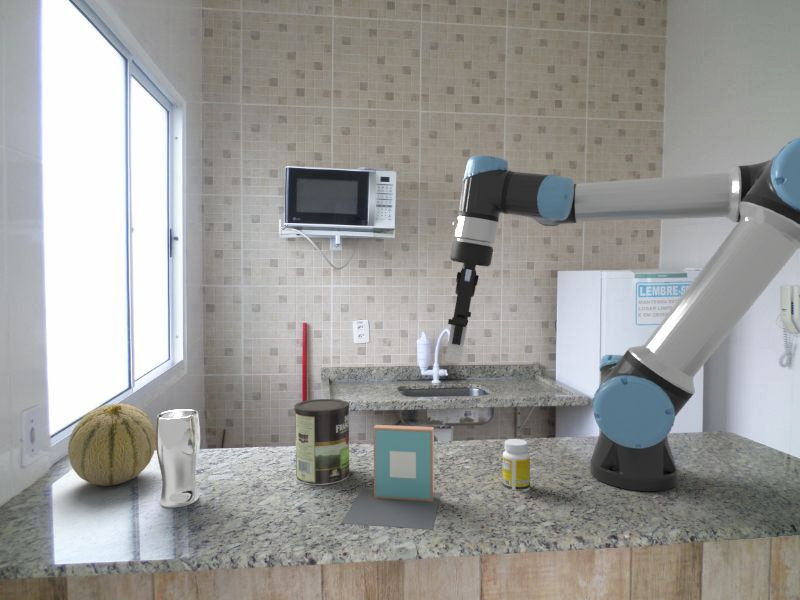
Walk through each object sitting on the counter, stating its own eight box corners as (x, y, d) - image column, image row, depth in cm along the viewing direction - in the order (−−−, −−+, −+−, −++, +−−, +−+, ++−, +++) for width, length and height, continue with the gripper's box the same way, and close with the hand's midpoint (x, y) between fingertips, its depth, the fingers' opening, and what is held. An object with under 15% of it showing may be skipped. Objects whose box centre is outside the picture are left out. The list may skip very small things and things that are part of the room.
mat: (441, 496, 94) (441, 492, 94) (432, 533, 80) (432, 529, 80) (362, 491, 96) (362, 488, 96) (340, 527, 82) (340, 523, 82)
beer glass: (209, 495, 94) (208, 410, 94) (181, 511, 88) (179, 420, 87) (177, 490, 97) (175, 407, 96) (147, 506, 90) (145, 417, 90)
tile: (434, 497, 92) (433, 426, 91) (432, 502, 90) (432, 430, 89) (376, 493, 93) (375, 424, 93) (373, 498, 91) (373, 428, 91)
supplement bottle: (532, 485, 98) (532, 439, 98) (526, 495, 94) (526, 447, 93) (506, 481, 100) (506, 436, 100) (499, 490, 96) (499, 444, 95)
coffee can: (356, 470, 107) (355, 399, 106) (340, 490, 97) (339, 411, 96) (307, 466, 109) (306, 397, 108) (286, 486, 99) (285, 409, 98)
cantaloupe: (123, 464, 111) (121, 392, 110) (174, 475, 104) (172, 398, 104) (49, 489, 98) (47, 407, 97) (103, 504, 91) (100, 416, 91)
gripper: (455, 240, 112) (438, 340, 114) (450, 237, 88) (429, 364, 90) (491, 246, 111) (473, 346, 114) (497, 245, 87) (474, 372, 89)
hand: (453, 354), depth 102 cm, fingers open, 13 cm apart
